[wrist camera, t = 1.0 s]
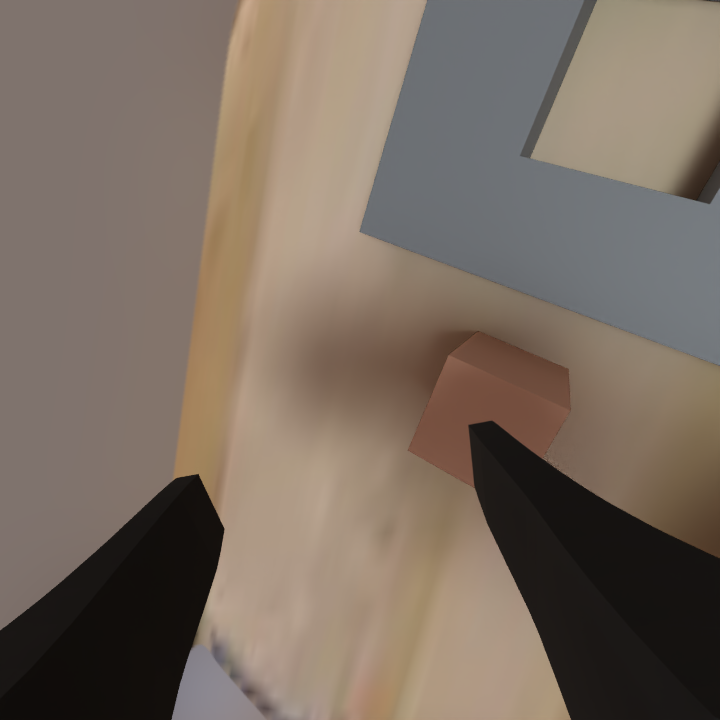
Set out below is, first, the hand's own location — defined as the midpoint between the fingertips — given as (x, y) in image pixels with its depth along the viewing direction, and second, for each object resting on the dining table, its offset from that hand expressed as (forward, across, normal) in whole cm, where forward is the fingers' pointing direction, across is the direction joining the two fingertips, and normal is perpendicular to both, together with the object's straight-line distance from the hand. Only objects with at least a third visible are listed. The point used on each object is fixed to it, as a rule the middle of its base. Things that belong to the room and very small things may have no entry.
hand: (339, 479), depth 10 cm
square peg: (+9, -7, +4) cm, 13 cm away
